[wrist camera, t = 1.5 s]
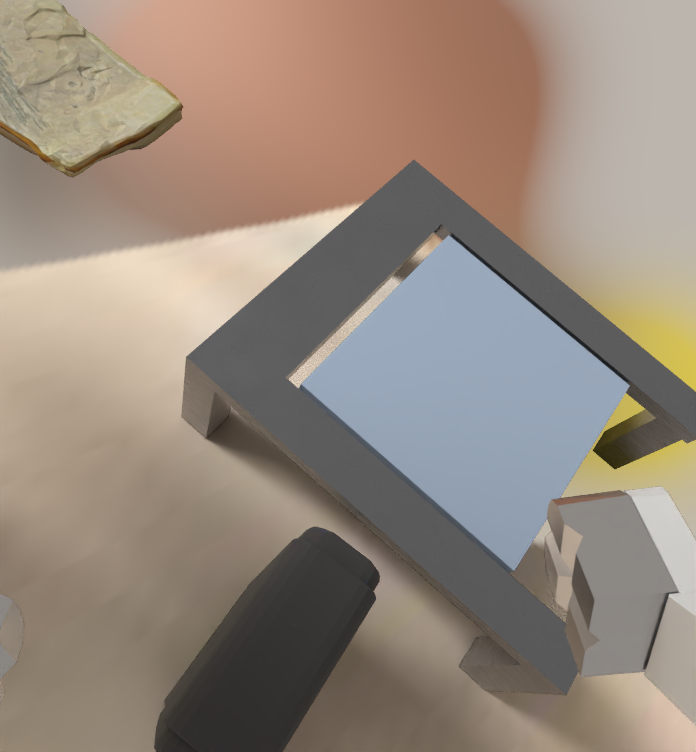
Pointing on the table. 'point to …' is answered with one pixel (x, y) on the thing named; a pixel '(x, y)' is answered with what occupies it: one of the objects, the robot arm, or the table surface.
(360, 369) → the trapdoor
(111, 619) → the table surface
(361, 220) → the stand
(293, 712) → the card reader
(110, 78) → the stone slab
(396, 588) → the table surface
